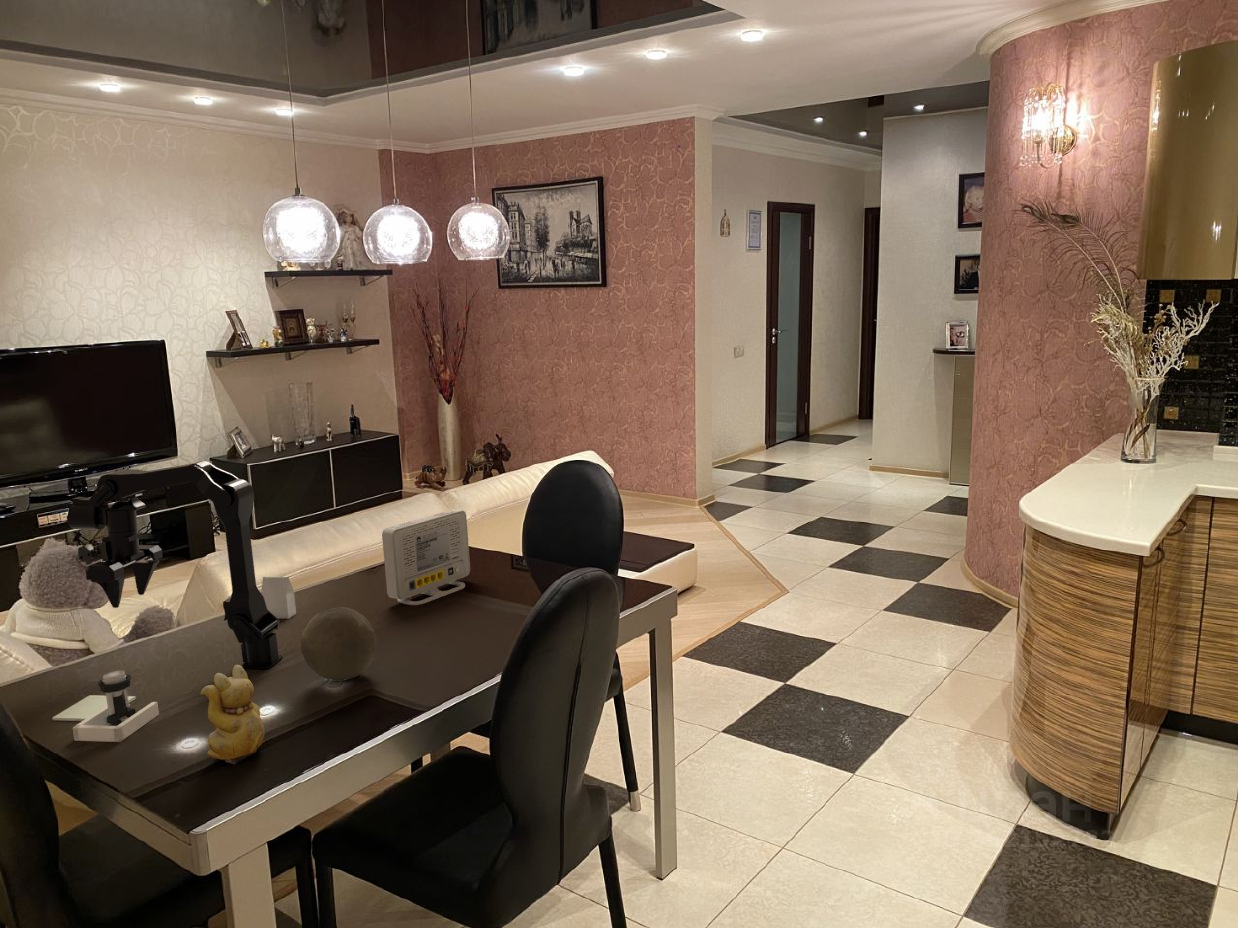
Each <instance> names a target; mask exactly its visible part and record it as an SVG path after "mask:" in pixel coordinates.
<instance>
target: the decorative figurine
mask: <svg viewBox="0 0 1238 928" xmlns="http://www.w3.org/2000/svg"><path fill="white" fill-rule="evenodd" d="M231 673H232V676H229V677H228V676H227V675H225V674H223V673H222V672H221V673H220V672H216V674H214V677H213V682H214V684H209V685H205V686H204V687H203V688H202V689H201V691H200V696H202V697H203V696H206V697H207V699H208V700H209V701H208V707H207V716H208V720H209V721H210V723H211V724H212V725H213V726H214V727H215V730H214V731H212V732H211V733H210V734H209V735H208V738H207V746H208V747H209V750H208V751H207V756H208V757H210V758H213V759H216V760H221V761H225V763H228V764H232V765H236V764H238V763H239V762H241V761H243V760H244V759H246V758H248V757H249V756H251V755H253V754H255V753H257V751H258V749H259V748H260V747H261V746H262V744H263V742H264V739H265V731H266V730H265V726H264V722H263V719H262V717H261V710H260V707H259V705H258V704H257V703H254V702H253V701H252V699H253V696H254V693H255V689H254V685H253V683H252V682H251V679H249V677H248V673H247V671H246V670H245V668H242V666H241V665H240V664H235V665H234V666H233V668H232V671H231Z"/></svg>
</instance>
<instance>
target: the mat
mask: <svg viewBox="0 0 1238 928" xmlns="http://www.w3.org/2000/svg"><path fill="white" fill-rule="evenodd" d="M136 697H137V696H136V695H134V696H133V695H132V696H131V695H128V702H129V704H130V703H131V702H133V701H134V700H136V699H137V698H136ZM105 706H107V699H106V695H93V694H92V695H91V694H90V695H88V696H86V697H85V698H83V699H80V700H79V701H77V702H76V703H74V704H73V705H71V706H69V707H68V708H66V709H64V710H63V711H61V712H60V713H57V714H56V715H54V716H53V717H52V721H60V722H61V721H70V722H71V721H72V722H82V721H83V720H85V719H87V718H88V717H90V716H91V715H93V714H94V713H96V712H98V711H99V710H101V709H102V708H104V707H105Z"/></svg>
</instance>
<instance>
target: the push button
mask: <svg viewBox="0 0 1238 928" xmlns="http://www.w3.org/2000/svg"><path fill="white" fill-rule="evenodd" d="M131 680H132V676H131V675H130V674H129V673H126V672H125V670H114V671H110V672H107V673H106V674H103V676H102V679H100V680H99V681H98V682H97V686H98V687H99V690H100V691H101V692H102V693H105V696H106V699H107V706H108V715H107V716H105V724H104V725H102V726H118V725H119V724H121V723H122V722H124V721H125V720H127V719H128V718H130V717H131V716H132V715H134V714H135V713H137V712H136V709H135V708H133V707H131V704H130V703H129V702H128V696H129V695H128V690H127V688H129V687H130V686H131V684H132V683H131Z"/></svg>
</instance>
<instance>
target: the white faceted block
mask: <svg viewBox="0 0 1238 928" xmlns="http://www.w3.org/2000/svg"><path fill="white" fill-rule="evenodd" d="M260 592H261V594H262V595H263V597H264V600H265V603H266V607H267V609H268V610H269V611H270V612H271V613H272V614H273V615H274V616H276V617H277V618H278V619H291V618H292V617H293V616H294V615H296V614H297V608H296V598H295V591H294V588H293V586H292V583H291V581H290V577H289V576H262V584H261V591H260Z"/></svg>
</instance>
